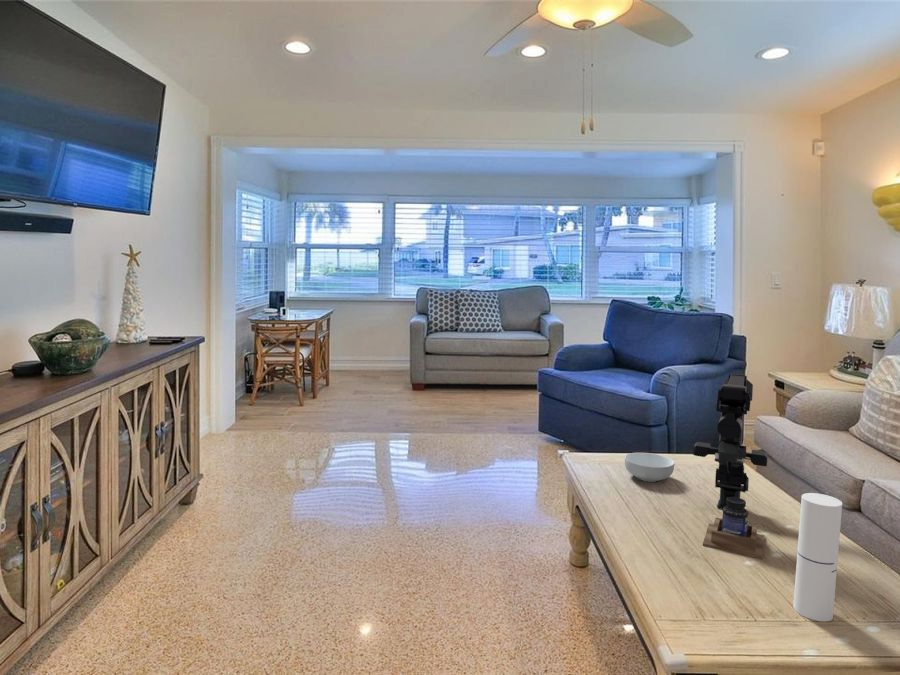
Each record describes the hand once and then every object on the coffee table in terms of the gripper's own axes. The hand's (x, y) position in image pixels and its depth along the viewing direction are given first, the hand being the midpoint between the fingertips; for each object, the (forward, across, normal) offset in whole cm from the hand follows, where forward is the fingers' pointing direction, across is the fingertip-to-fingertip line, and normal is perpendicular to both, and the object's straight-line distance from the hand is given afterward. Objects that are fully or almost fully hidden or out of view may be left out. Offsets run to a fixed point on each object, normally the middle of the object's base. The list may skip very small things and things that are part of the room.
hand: (728, 482), depth 159 cm
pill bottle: (+12, +3, -10) cm, 16 cm away
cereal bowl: (+14, -27, +28) cm, 41 cm away
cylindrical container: (+13, +20, -37) cm, 44 cm away
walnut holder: (+13, +3, -10) cm, 16 cm away
